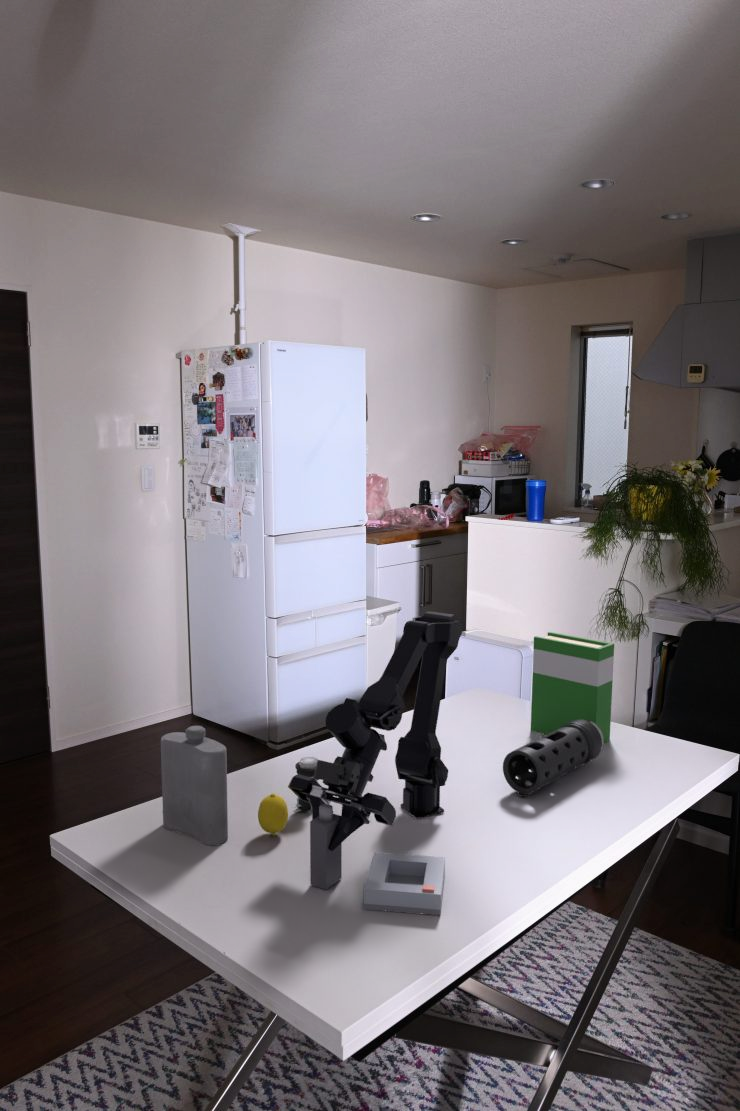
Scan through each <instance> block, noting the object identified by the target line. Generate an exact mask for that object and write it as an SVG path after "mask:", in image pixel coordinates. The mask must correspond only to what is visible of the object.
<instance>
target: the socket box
mask: <svg viewBox="0 0 740 1111" xmlns="http://www.w3.org/2000/svg"><path fill="white" fill-rule="evenodd" d="M445 879H446V857H444V856H434V855H432V856H431V855H418V854H417V855H416V854H408V853H407V854H406V853H392V852H391V853H390V852H378V851H374V852H373V855H372V859H371V863H370V866H369V870H368V873H367V876H366V880H365V883H364V887H363V910H364V911H365V910H367V911H377V910H382V911H381V912H389V911H399V912H398V913H401V912H409V913H408V914H413V913H423V914H422V915H425V914H431V915H430V916H437V915H442V905H443V897H444V890H445V889H444V888H445ZM385 910H386V911H385Z"/></svg>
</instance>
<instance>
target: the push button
mask: <svg viewBox="0 0 740 1111" xmlns="http://www.w3.org/2000/svg"><path fill="white" fill-rule="evenodd" d="M318 760H319V759H318V758H317V757H314V756H306V757H301V758H300V759H299V761H298V762H297V763H295V769H296V775H297V774H300V775H304V776H308V777H311V778H314V773H315V769H316V765H317V761H318ZM315 780H316V779H315ZM316 781H317V782H318V780H316ZM296 802H297V803H296V804H295V805H292V806H291V808H293V810H292V812H293V813H297V812H300V813H302V814H304V813H306V812H309V811H310V812H311V811H312V805H311V803H309V802H305V801H303V800H301V799H300V798H299V797H298V796H297V798H296ZM295 808H296V809H295Z"/></svg>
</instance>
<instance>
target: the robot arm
mask: <svg viewBox="0 0 740 1111" xmlns="http://www.w3.org/2000/svg"><path fill="white" fill-rule="evenodd" d="M402 633H403V634H402V636H401V638H400V639H399V642H398V643H397V645H396V647H395V649H394V651H393V652H392V654H391V657H390V659H389V661H388V662H387V664H386V667H385V669H384V670H383V672H382V675H381V677H380V678H379V679H378V680H377V681H375V682H374V683H373V684H371V685H369V686H368V687H367V689H366V690H365V691H364V692H363V694H362V696H361V697H360V699H359V700H358V701H357V699H354V698H349V697H346V698H345V700H344V702H343V703H340V704H338V705H336V706H334V707H333V708H331V710H330V711H328V713H327V714H326V717H325V726H326V729H327V730H328V732H330V734H331V735H332V736H333V737H334V738H335V739H336V740H337V742H338V743H339V744H340V745H341V746H342V747H343V748H344V750H343V753H342V754H341V755H342V756H338V755H337V756H336V757H335V758H334V761H333V762H330V761H325V760H320V759H318V761H317V765H316V769H315V773H314V778H311V777H308V776H304V775H300V774H297V773H296V774H295V775H294V776H292V777H291V780H290V781H289V783H288V785H287V788H288V789H290V791H292V792H293V794H294V795H296V796H297V798H298V797H299V798H300V799H301V800H303V801H305V802H309V803H311V805H312V810H311V813H312V816H311V817H312V819H311V821H312V820H313V819H315V818H316V817H318V816H319V806H321V805H324V804H329V805H331V803H336V804H338V805H341V814H340V816H341V818H340V820H339V822H338V825H337V827H336V829H335V831H334V834H333V836H332V838H331V841H330V844H329V847H328V849H329V850H330V851H333V850H334V849H335V848H337V847H338V846H339V845H340V844H341V843H342V844H343V842H344V841H346V839H347V838H348V837H349V836H351V835H352V834H353V833H354V832H356V831H357V830H358V829H360V828H361V827H363V826H364V825H369V824H370V823H371V821H370V820H369V818H370V817H371V814H373V816H374V819H375V822H377V823H380V824H383V825H386V826H390V827H392V826H393V824H394V822H395V819H396V816H397V811H396V808H395V806H394V805H393V804H392V803H391V802H390V800H388V799H387V797H386V796H382V795H380V794H374V793H371V792H366V793H365V794H363V793H364V791H365V788H366V786H367V783H368V782H370V783H372V781H373V780H374V775H373V774H372V772H373V769H374V767H375V764H376V762H377V759H378V757H379V755H380V752H381V751H387V750H388V745H387V741H386V739H385V734H382V733H379V732H378V731H377V730H376V729H378V730H384V731H386V732H389V731H392V730H393V731H394V730H395V729H396V728H397V727H398V726H399V725H400V723H401V721H402V717H403V713H404V710H405V707H406V704H405V700H404V699H405V698H404V695H405V692H406V689H407V687H408V685H409V683H410V681H411V679H412V677H413V675H414V673H415V671H416V670H417V667H418V664H419V662H420V660H421V664H420V670H419V674H418V675H419V676H418V682H417V688H416V693H415V699H414V700H415V701H414V706H413V712H412V718H411V724H410V729H409V731H408V732H407V733H406V734H405V735H404V736H400V737H399V739H398V741H397V742H398V743H397V750H396V754H395V758H394V764H395V768H396V773H397V778H398V780H404V788H402V789H403V790H402V803H400V807H401V808H402V809H403V810H404V811H406V812H407V813H409V815H411V816H412V817H414V818H415V819H421V818H425V817H426V818H427V817H430V816H433V815H438V814H443V813H444V812H445V808H443V807H441V806H440V804H441V803H440V799H441V797H440V796H441V787H445V786H446V782H447V780H448V777H449V769H448V768H447V766H446V765H445V763H444V761H442V759H441V758H442V756H441V754H442V747H441V745H440V742H439V739H438V737H437V733H436V732H437V731H436V730H437V726H438V725H437V724H438V718H439V714H440V713H439V712H440V706H441V700H442V693H443V688H444V681H445V674H446V669H447V662H448V659H449V658H450V657H451V656H452V655H453V654H454V652H455V651H456V650H457V649H458V645H459V641H460V638H461V637H462V634H463V623H462V622H461V621H460V620H459V618H458V616H457V615H455V614H450V613H445V612H443V613H442V612H437V611H426V612H424V613H423V615H421V616H415V617H412V619H410V620H407V621H406V622H405V624H404V626H403V630H402ZM374 728H375V729H374ZM315 779H316V780H317V781H316V780H315ZM319 780H322V783H323V785H324V786H327V787H324V786H322V785H321V784H320V783H319Z"/></svg>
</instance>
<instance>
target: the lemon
mask: <svg viewBox="0 0 740 1111" xmlns="http://www.w3.org/2000/svg"><path fill="white" fill-rule="evenodd" d="M257 819H258V824H259V825H260V826H259V827H261V828H262V830H263V831H265V832H266V833H268V834H270V835H271V836H275V835H277V833H279V832H281V831H283V829H284V828H285V827H286V825H287V823H288V820H289V810H288V805H287V802H286V801H285V799H284V798H283V797H281V796H280V795H278V794H275V793H271V794H270V795H267V796H265V797H264V798H263V799H262V800H261V802H260V803H259V807H258V810H257Z"/></svg>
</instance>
